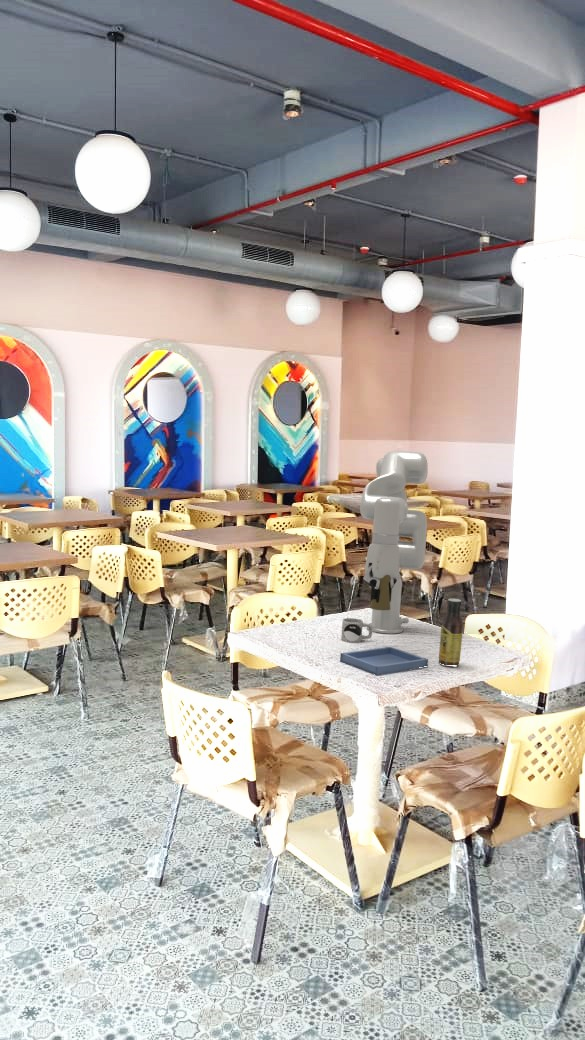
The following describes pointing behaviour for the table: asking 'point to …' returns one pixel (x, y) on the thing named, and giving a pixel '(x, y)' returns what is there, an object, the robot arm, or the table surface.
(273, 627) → the table surface
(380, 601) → the cork
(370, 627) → the mug
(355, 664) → the tray
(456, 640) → the sauce bottle
